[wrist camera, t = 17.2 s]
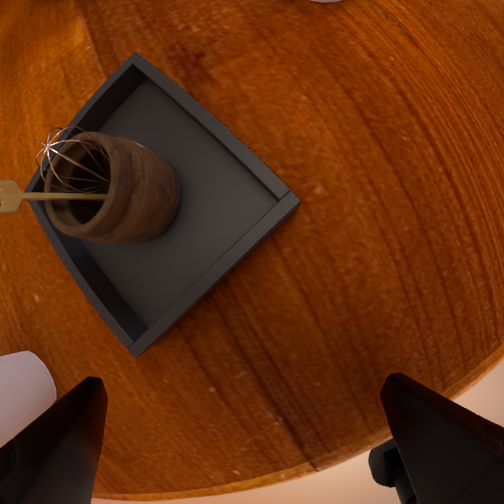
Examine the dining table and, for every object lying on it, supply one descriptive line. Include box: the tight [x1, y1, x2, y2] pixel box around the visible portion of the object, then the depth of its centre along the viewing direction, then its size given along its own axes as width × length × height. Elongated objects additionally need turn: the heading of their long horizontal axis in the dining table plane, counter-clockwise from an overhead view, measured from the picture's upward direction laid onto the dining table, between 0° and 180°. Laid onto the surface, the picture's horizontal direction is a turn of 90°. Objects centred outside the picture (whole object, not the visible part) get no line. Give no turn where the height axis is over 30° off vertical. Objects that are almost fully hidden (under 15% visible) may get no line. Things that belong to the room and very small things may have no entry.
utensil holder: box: [0, 126, 180, 244], centre depth 12 cm, size 6×6×12 cm
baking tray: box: [24, 52, 301, 358], centre depth 17 cm, size 16×14×3 cm
